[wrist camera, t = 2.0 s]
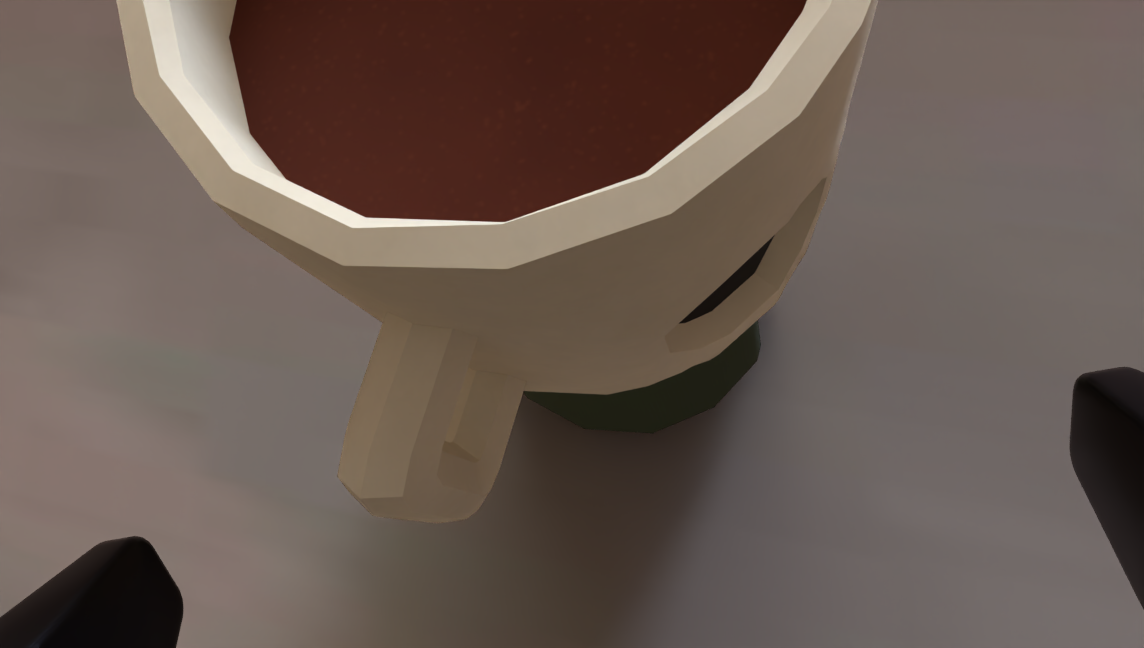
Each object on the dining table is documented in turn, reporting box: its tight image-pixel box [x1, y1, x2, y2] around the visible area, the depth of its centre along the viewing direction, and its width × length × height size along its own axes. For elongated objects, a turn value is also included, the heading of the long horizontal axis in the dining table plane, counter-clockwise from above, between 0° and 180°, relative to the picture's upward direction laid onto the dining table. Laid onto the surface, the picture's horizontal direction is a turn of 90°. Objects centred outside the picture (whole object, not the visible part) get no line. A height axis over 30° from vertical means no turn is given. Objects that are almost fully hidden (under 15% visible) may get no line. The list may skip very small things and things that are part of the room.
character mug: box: [116, 0, 878, 523], centre depth 14 cm, size 11×7×13 cm, turn 163°
